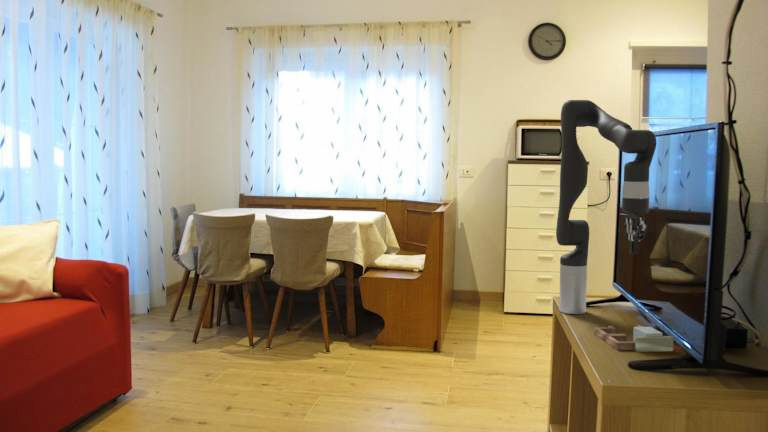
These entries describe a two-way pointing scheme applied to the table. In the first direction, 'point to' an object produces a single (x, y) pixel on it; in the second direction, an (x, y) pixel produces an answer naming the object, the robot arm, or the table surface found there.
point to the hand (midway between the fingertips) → (633, 253)
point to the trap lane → (640, 342)
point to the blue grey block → (645, 332)
